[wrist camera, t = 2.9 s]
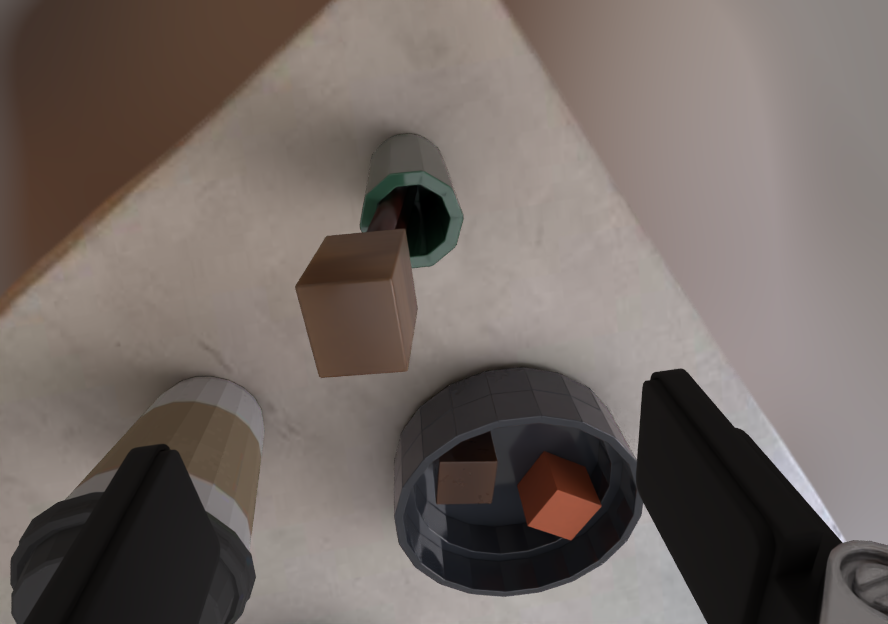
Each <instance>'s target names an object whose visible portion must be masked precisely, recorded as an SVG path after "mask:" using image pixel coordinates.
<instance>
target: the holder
mask: <svg viewBox="0 0 888 624" xmlns="http://www.w3.org/2000/svg"><path fill="white" fill-rule="evenodd" d="M411 185H417V193H416V196H415V200H414V204H413V207H412V211H411V215H410V219H409V222H408V226H407V230H406V236H407V242H408V249H409V255H410V262H411V268H419V267H429V266H433V265H434V264H435V263H437V262H438V261H439V260H440V259H442V258H443V257H444V256H445V255H446V254H448V253H449V252H450V251H451V250H452V249H454V248H455V246H456V245H457V242H458V238H459V234H460V230H461V226H462V223H463V219H464V217H463V212H462V209H461V207H460V204H459V201H458V198H457V195H456V193H455V190H454V187H453V184H452V181H451V178H450V176H449V173H448V170H447V167H446V165H445V163H444V160H443V158H442V155H441V153H440V150H439V149H438V147H436V146H435V145H434V144H433V143H431V142H430V141H429V140H427V139H426V138H424V137H422V136H419V135H416V134H399V135H395V136H393V137H390V138H389V139H387V140H385V141H384V142H383V143H382V144H381V145H380V146H379V147H378V148H377V149H376V151H375V152H374V153H373V154H372V157H371V163H370V169H369V174H368V180H367V186H366V191H365V197H364V203H363V209H362V214H361V220H360V230H361V232H362V233H363V232H367V230H368V227H369V225H370V223H371V221H372V218H373V216H374V214H375V212H376V209H377V207H378V205H379V203H380V201H381V200H382V199H383V198H384V197H385V196H386V195H388V194H389V193H390V192H391V191H392V190H393V189H394V188H395V187H401V186H411Z"/></svg>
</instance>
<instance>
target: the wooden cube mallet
mask: <svg viewBox="0 0 888 624" xmlns="http://www.w3.org/2000/svg"><path fill="white" fill-rule="evenodd" d="M416 193H417V185H411V186H401V187H395V188H394V189H393V190H392V191H391V192H390V193H389V194H388V195H386V196H385V197H384V198H383V199H382V200H381V201H380V203H379V205H378V207H377V209H376V212H375V214H374V216H373V218H372V221H371V223H370V225H369V227H368V230H367V232H363V233H353V234H342V235H332V236H326V237H325V239H324V241H323V242H322V244H321V245H320V247H319V249H318V250H317V252H316V253H315V255H314V257H313V258H312V260H311V262H310V263H309V265H308V266H307V268H306V270H305V271H304V273H303V274H302V276H301V278H300V279H299V281H298V282H297V284H296V286H295V289H296V293H297V296H298V300H299V304H300V307H301V311H302V315H303V319H304V322H305V326H306V330H307V333H308V337H309V341H310V345H311V348H312V352H313V356H314V359H315V363H316V367H317V371H318V374H319V377H321V378H324V377H338V376H352V375H366V374H379V373H393V372H406V371H407V370H408V367H409V360H410V354H411V348H412V341H413V335H414V329H415V323H416V316H417V310H418V307H417V301H416V294H415V288H414V281H413V275H412V268H411V262H410V255H409V249H408V242H407V236H406V230H407V226H408V222H409V219H410V215H411V211H412V207H413V204H414V200H415V196H416Z"/></svg>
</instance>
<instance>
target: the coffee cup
mask: <svg viewBox="0 0 888 624" xmlns="http://www.w3.org/2000/svg"><path fill="white" fill-rule="evenodd" d="M264 431H265V430H264V424H263V416H262V410H261V408H260V406H259V404H258V403H257V401H256V399H255V398H254V397H253V396H252V395H251V394H250V393H249V392H248V391H247V390H245V389H244V388H243V387H241V386H239V385H237V384H235V383H233V382H231V381H229V380H225V379H221V378H217V377H194V378H190V379H187V380H184V381H181V382H179V383H178V384H176V385H175V386H173V387H172V388H170V389H169V390H167V391H166V392H165V393H163V394H162V395H160V396H159V398H158V399H157V400H156V401H155V402H154V403H153V404H152V405H151V406H150V407H149V408H148V410H147V411H146V412H145V413H144V414H143V415H142V416H141V417H140V418H139V419H138V420H137V422H136V423H135V424H134V425H133V426H132V427H131V428H130V429H129V430H128V431H127V433H126V434H125V435H124V436H123V437H122V438H121V439H120V440H119V441H118V442H117V443H116V445H115V446H114V447H113V448H112V449H111V450H110V451H109V452H108V453H107V454H106V456H105V457H104V458H103V459H102V460H101V461H100V462H99V463H98V464H97V465H96V466H95V468H94V469H93V470H92V471H91V472H90V473H89V474H88V475H87V476H86V477H85V479H84V480H83V481H82V482H81V483H80V484H79V485H78V486H77V487H76V488H75V489H74V491H73V492H72V493H71V494H70V495H69V496H68V497H67V498H66V499H65V500H64V501H60V502H58V503H56V504H55V505H53V506H52V507H50V508H49V509H47V510H46V511H44V512H43V513H41V514H40V515H38V516H37V517H35V518H34V519H32V521H31V523H30V524H29V526H28V528H27V529H26V531H25V533H24V534H23V536H22V538H21V539H20V541H19V546H18V548H17V549H16V551H15V552H14V554H13V556H12V558H11V586H12V588H13V592H12V611H11V614H12V616H13V618H14V619H15V621H16V623H17V624H23V623H24V622H25V620H26V618H27V617H28V615H29V613H30V612H31V610H32V609H33V607H34V605H35V604H36V602H37V600H38V599H39V597H40V596H41V594H42V592H43V591H44V589H45V587H46V586H47V584H48V583H49V581H50V579H51V578H52V576H53V574H54V573H55V571H56V570H57V568H58V566H59V565H60V563H61V561H62V560H63V558H64V556H65V555H66V553H67V552H68V550H69V548H70V547H71V545H72V543H73V542H74V540H75V539H76V537H77V535H78V534H79V532H80V530H81V529H82V527H83V526H84V524H85V522H86V521H87V519H88V517H89V516H90V514H91V513H92V511H93V509H94V508H95V506H96V504H97V503H98V501H99V500H100V498H101V496H102V495H103V493H104V491H105V490H106V488H107V486H108V485H109V483H110V482H111V480H112V478H113V477H114V475H115V473H116V472H117V470H118V469H119V467H120V465H121V464H122V462H123V460H124V459H125V457H126V456H127V454H128V453H129V451H130V450H131V449H133V448H135V447H142V446H149V445H156V444H166V445H167V446H169V448H170V449H171V450H177V451H178V452H179V454H180V456H181V458H182V460H183V462H184V465H185V467H186V469H187V471H188V473H189V476H190V478H191V480H192V482H193V484H194V487H195V489H196V491H197V493H198V495H199V498H200V500H201V502H202V504H203V506H204V509H205V511H206V513H207V515H208V517H209V520H210V522H211V524H212V526H213V529H214V531H215V533H216V535H217V537H218V540H219V543H220V558H219V562H218V565H217V568H216V571H215V574H214V577H213V581H212V584H211V587H210V590H209V593H208V596H207V599H206V602H205V605H204V609H203V612H202V615H201V618H200V621H199V624H234V623H235V622H236V621H237V620H238V618H239V617H240V616H241V615H242V613H243V611H244V608H245V605H246V602H247V600H248V599H249V598H250V595H251V592H252V588H253V585H254V582H255V578H256V575H255V570H254V565H253V560H252V555H251V553H250V552H249V550H250V542H251V534H252V527H253V519H254V511H255V503H256V495H257V487H258V479H259V471H260V463H261V455H262V447H263V439H264Z"/></svg>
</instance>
